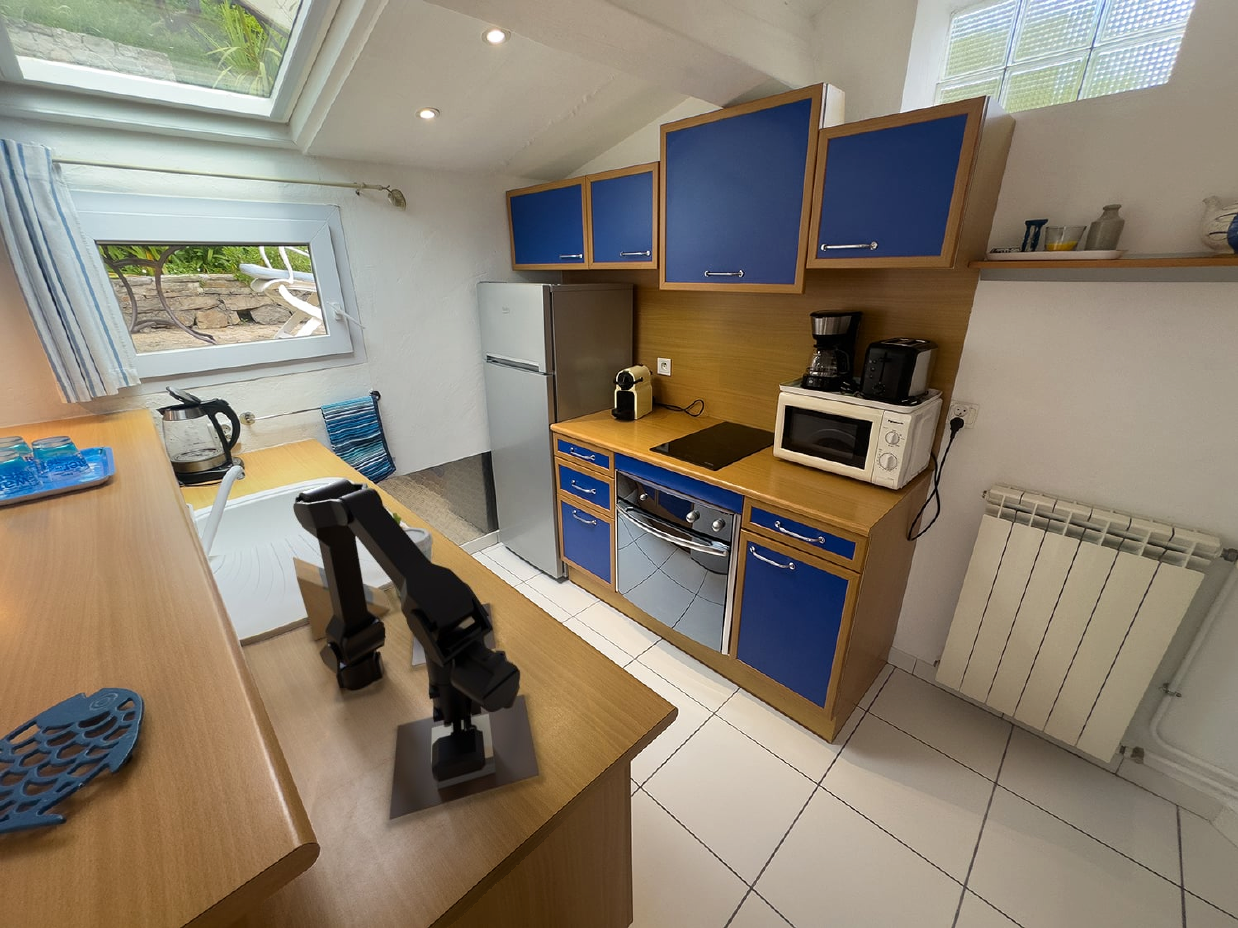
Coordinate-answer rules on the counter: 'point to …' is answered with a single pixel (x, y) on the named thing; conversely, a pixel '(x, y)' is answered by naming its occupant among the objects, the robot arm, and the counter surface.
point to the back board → (419, 651)
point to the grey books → (486, 770)
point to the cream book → (479, 721)
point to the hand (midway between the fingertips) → (463, 750)
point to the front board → (421, 792)
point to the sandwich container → (328, 597)
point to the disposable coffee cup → (419, 543)
